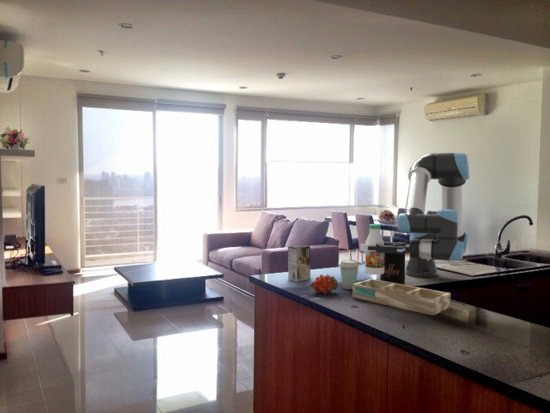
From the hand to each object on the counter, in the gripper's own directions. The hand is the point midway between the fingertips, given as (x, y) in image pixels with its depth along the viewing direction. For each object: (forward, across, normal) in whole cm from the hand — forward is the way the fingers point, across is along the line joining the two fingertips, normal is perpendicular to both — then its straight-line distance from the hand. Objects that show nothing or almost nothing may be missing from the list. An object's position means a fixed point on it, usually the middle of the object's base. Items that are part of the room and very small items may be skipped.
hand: (363, 245), depth 195 cm
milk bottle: (-5, 0, -11) cm, 12 cm away
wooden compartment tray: (-16, -4, -21) cm, 26 cm away
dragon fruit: (+16, -2, -21) cm, 27 cm away
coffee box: (+36, +18, -21) cm, 45 cm away
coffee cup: (+9, +12, -21) cm, 26 cm away
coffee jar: (-8, +19, -21) cm, 30 cm away
